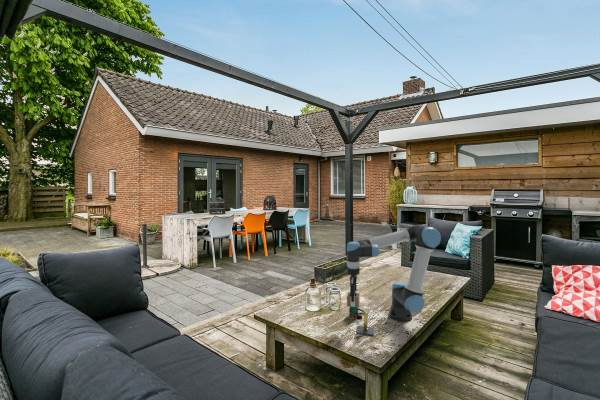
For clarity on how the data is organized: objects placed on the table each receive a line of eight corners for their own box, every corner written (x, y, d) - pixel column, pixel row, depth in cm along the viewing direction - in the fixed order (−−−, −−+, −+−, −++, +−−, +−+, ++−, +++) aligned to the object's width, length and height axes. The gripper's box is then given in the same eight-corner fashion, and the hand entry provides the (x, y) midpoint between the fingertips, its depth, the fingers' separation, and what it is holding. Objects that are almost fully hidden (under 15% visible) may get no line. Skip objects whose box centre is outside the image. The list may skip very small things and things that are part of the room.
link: (359, 302, 192) (359, 293, 191) (358, 307, 185) (358, 297, 184) (348, 301, 194) (348, 292, 193) (347, 305, 187) (346, 296, 186)
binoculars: (367, 304, 205) (354, 304, 202) (365, 319, 206) (352, 320, 202) (360, 299, 214) (347, 299, 210) (358, 313, 214) (346, 314, 211)
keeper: (374, 329, 191) (374, 309, 190) (373, 336, 182) (374, 316, 181) (357, 327, 193) (358, 308, 193) (356, 333, 185) (357, 314, 184)
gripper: (349, 262, 198) (349, 297, 200) (345, 271, 179) (345, 309, 181) (360, 263, 196) (361, 298, 198) (358, 272, 177) (358, 311, 179)
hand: (353, 303), depth 189 cm, fingers closed on link, 7 cm apart
